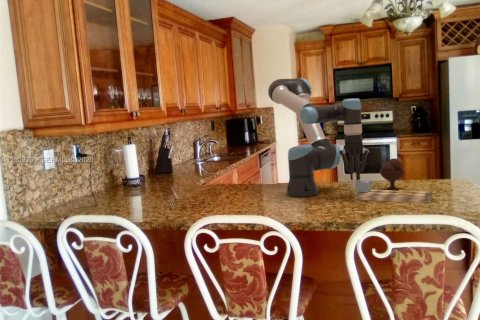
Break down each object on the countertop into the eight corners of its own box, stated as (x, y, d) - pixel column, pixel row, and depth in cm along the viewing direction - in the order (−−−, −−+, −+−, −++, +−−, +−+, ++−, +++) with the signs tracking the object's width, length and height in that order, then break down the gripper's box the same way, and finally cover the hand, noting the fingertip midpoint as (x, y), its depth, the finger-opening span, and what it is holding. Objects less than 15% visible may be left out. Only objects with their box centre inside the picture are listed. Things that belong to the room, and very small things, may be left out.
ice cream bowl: (400, 187, 198) (399, 156, 196) (407, 191, 187) (406, 159, 185) (378, 188, 199) (377, 157, 197) (383, 192, 188) (382, 160, 186)
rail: (354, 199, 178) (354, 190, 178) (359, 195, 185) (359, 187, 185) (430, 203, 163) (429, 193, 162) (432, 198, 169) (432, 189, 169)
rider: (356, 196, 178) (355, 182, 178) (360, 193, 184) (359, 179, 184) (367, 196, 176) (367, 182, 175) (371, 193, 182) (371, 180, 181)
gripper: (335, 135, 179) (338, 188, 182) (365, 134, 172) (368, 189, 175) (341, 134, 186) (344, 185, 188) (370, 132, 179) (372, 186, 181)
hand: (355, 187), depth 181 cm, fingers closed
